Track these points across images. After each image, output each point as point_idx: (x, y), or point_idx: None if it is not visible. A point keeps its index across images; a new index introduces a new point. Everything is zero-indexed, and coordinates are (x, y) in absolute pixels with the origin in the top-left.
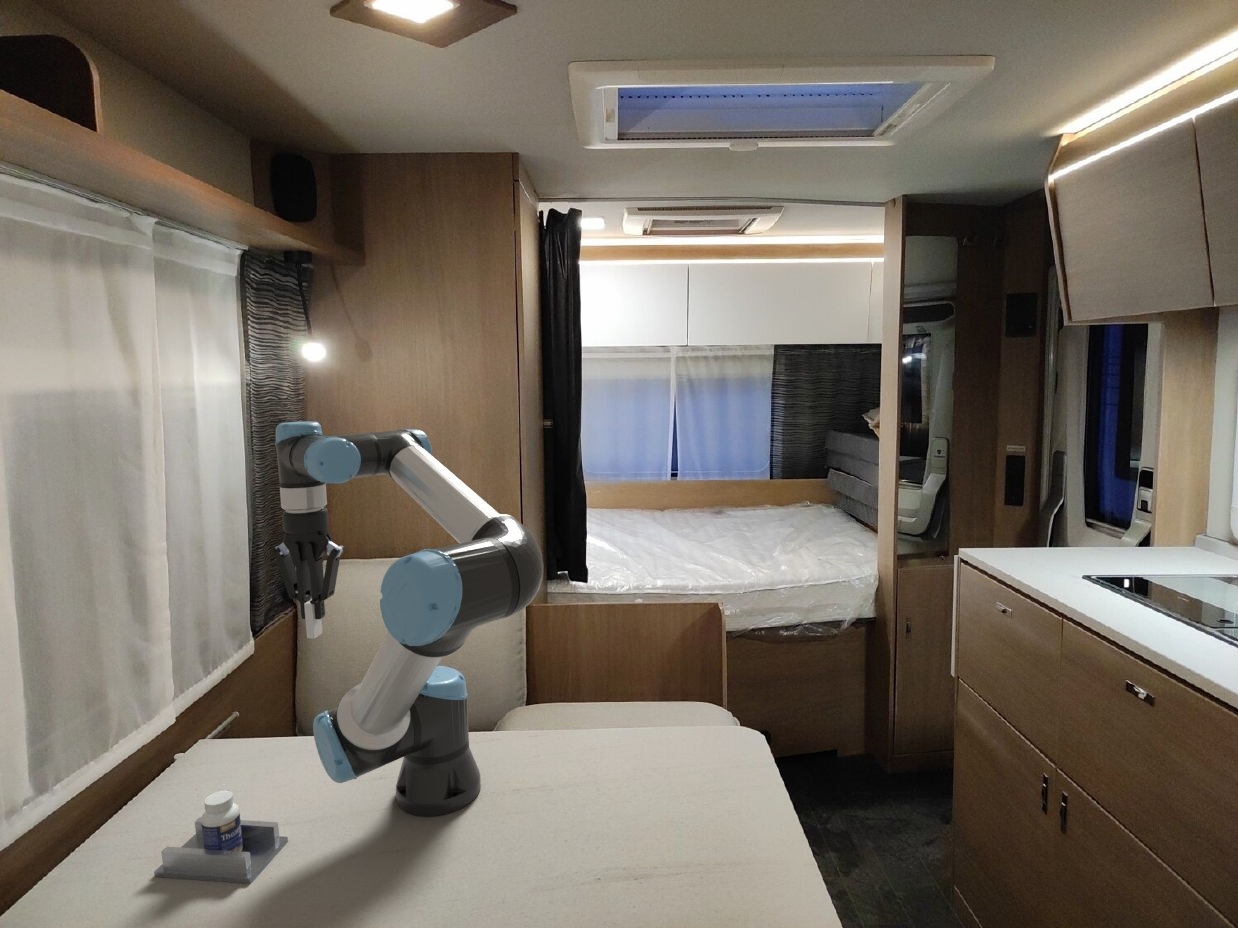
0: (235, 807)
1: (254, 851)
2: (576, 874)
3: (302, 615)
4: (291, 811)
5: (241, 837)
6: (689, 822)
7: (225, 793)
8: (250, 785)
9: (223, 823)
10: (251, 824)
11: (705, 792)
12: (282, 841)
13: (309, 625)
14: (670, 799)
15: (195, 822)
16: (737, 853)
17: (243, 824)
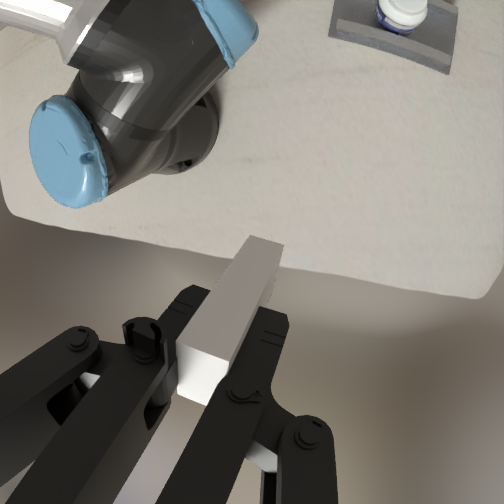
0: (385, 2)
1: (358, 15)
2: None
3: (280, 325)
4: (349, 98)
5: (376, 15)
6: (17, 96)
7: (403, 3)
8: (424, 176)
9: None
10: (372, 29)
11: (13, 132)
12: (330, 27)
13: (251, 269)
14: (24, 121)
15: (450, 56)
16: (5, 72)
17: (383, 31)
